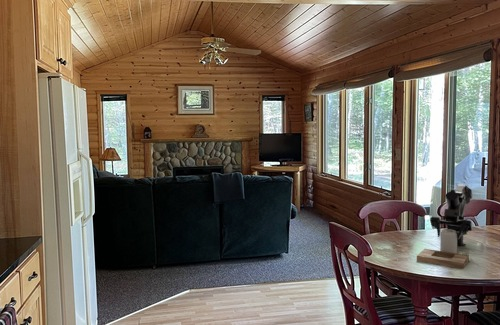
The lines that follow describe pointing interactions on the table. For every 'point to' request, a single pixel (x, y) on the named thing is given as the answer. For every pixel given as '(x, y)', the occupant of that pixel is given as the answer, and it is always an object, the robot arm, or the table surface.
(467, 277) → the table surface
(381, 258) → the table surface
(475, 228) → the table surface
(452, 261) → the pocket board
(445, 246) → the can
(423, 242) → the table surface
